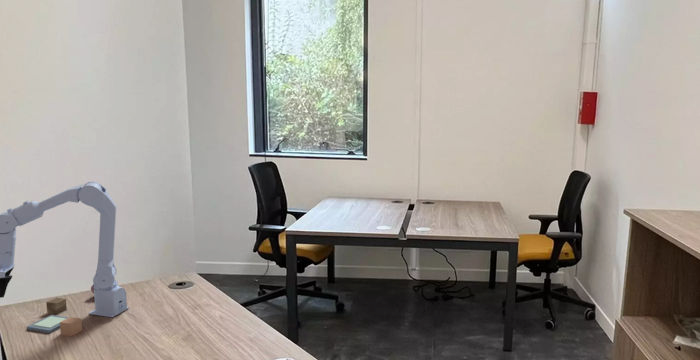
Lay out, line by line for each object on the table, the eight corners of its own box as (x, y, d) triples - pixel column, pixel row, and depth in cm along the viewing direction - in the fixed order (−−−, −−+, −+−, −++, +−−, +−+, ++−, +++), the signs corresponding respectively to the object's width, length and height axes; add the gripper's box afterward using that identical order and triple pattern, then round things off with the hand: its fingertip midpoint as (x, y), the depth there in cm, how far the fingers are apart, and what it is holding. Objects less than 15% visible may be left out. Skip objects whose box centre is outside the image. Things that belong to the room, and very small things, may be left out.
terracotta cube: (82, 330, 149) (81, 318, 149) (71, 336, 146) (70, 323, 145) (71, 328, 150) (70, 316, 150) (60, 334, 147) (59, 322, 146)
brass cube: (66, 310, 164) (65, 298, 164) (56, 314, 160) (55, 303, 160) (57, 308, 165) (56, 297, 165) (47, 313, 161) (46, 302, 161)
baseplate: (74, 321, 156) (73, 317, 155) (50, 333, 147) (49, 329, 147) (51, 317, 158) (51, 314, 158) (26, 329, 149) (26, 325, 149)
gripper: (-11, 244, 154) (-14, 285, 155) (-15, 257, 142) (-18, 302, 143) (16, 244, 157) (13, 284, 159) (14, 257, 145) (11, 300, 147)
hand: (0, 292), depth 151 cm, fingers open, 7 cm apart
